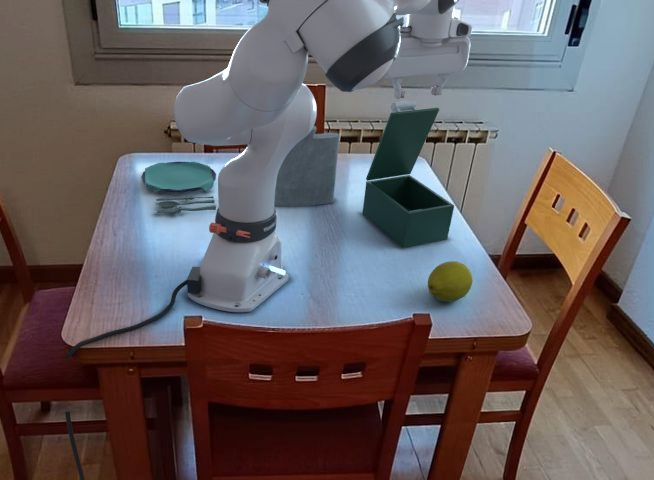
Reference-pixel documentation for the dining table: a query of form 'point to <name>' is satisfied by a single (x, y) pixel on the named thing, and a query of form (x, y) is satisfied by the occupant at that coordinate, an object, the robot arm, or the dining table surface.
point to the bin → (407, 210)
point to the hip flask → (308, 171)
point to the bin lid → (401, 140)
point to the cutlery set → (179, 183)
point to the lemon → (450, 281)
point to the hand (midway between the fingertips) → (417, 96)
